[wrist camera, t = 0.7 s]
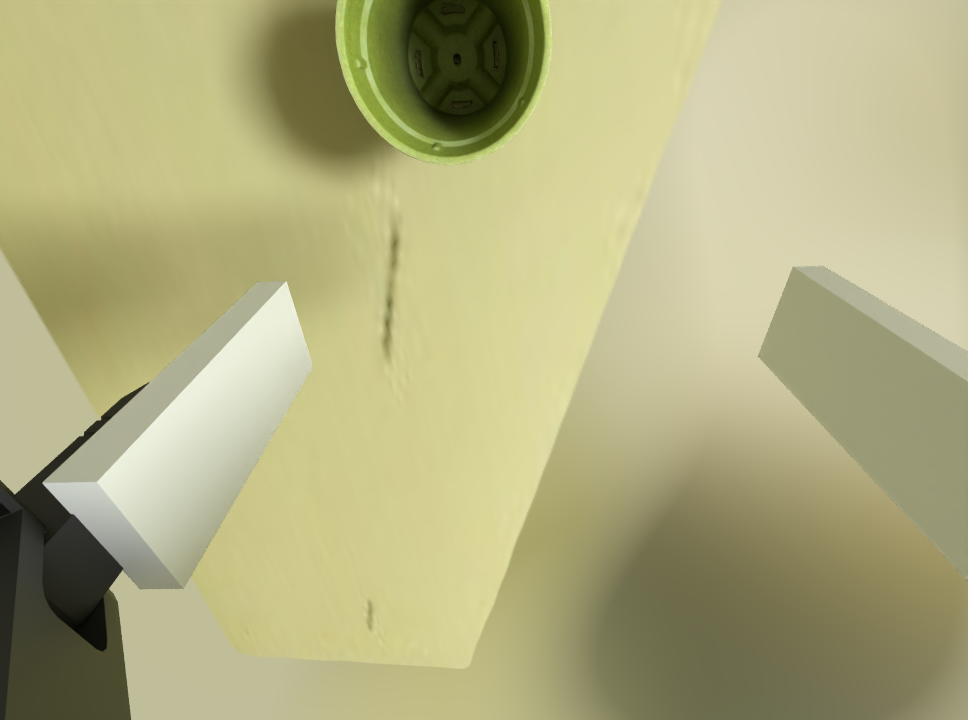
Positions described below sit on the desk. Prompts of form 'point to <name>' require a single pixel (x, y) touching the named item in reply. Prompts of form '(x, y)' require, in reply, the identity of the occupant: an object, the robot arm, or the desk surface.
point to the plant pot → (444, 71)
